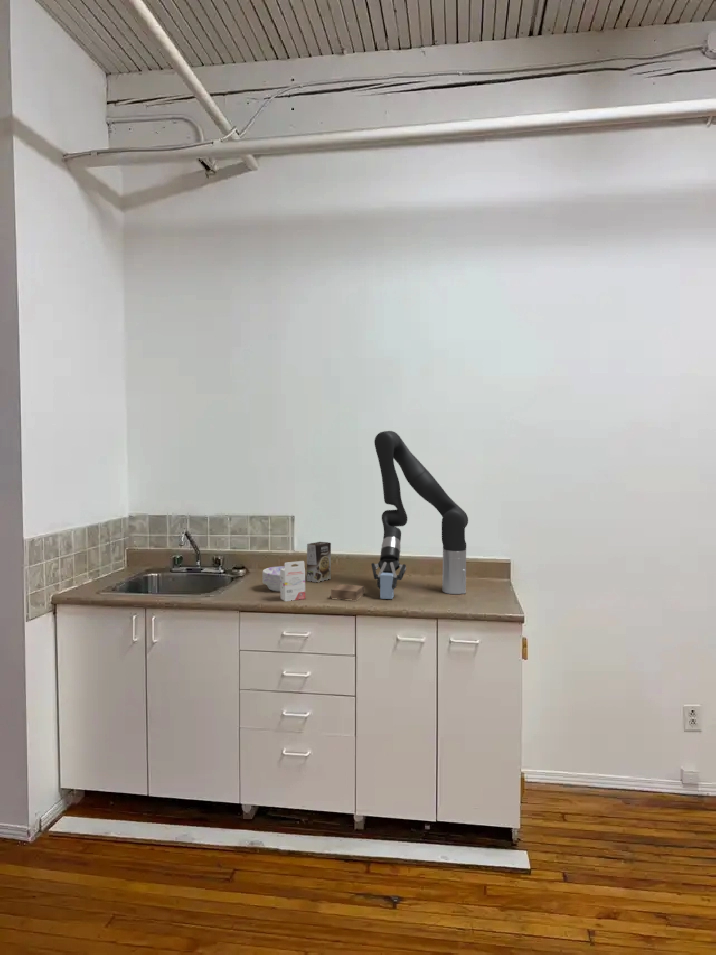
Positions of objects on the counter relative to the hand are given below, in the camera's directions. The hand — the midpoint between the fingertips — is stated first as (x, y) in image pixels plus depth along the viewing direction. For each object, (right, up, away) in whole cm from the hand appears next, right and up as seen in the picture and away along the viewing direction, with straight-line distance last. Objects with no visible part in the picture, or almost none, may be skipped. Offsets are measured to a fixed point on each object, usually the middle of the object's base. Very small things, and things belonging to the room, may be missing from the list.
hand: (386, 587), depth 255 cm
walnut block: (-15, -5, +4) cm, 16 cm away
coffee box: (-28, -2, +34) cm, 44 cm away
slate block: (0, -4, +2) cm, 5 cm away
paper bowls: (-42, -4, +17) cm, 45 cm away
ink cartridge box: (-36, -5, +1) cm, 36 cm away
